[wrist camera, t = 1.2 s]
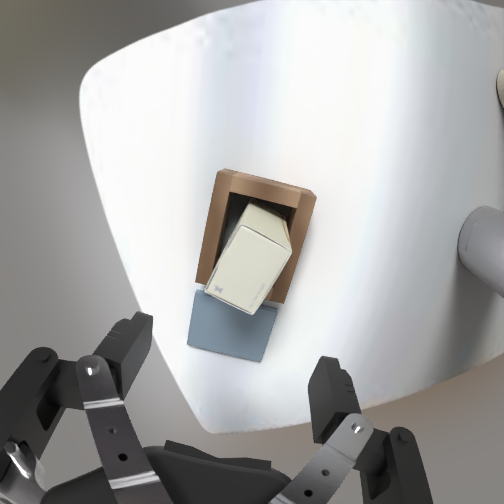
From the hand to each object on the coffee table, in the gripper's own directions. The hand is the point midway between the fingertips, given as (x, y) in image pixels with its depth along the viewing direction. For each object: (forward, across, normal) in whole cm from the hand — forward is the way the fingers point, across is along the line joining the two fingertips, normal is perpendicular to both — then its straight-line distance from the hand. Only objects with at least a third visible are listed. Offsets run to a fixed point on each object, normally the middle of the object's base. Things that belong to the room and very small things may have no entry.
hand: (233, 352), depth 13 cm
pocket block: (+21, 0, 0) cm, 21 cm away
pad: (+21, 0, +13) cm, 25 cm away
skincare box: (+21, 0, 0) cm, 21 cm away
